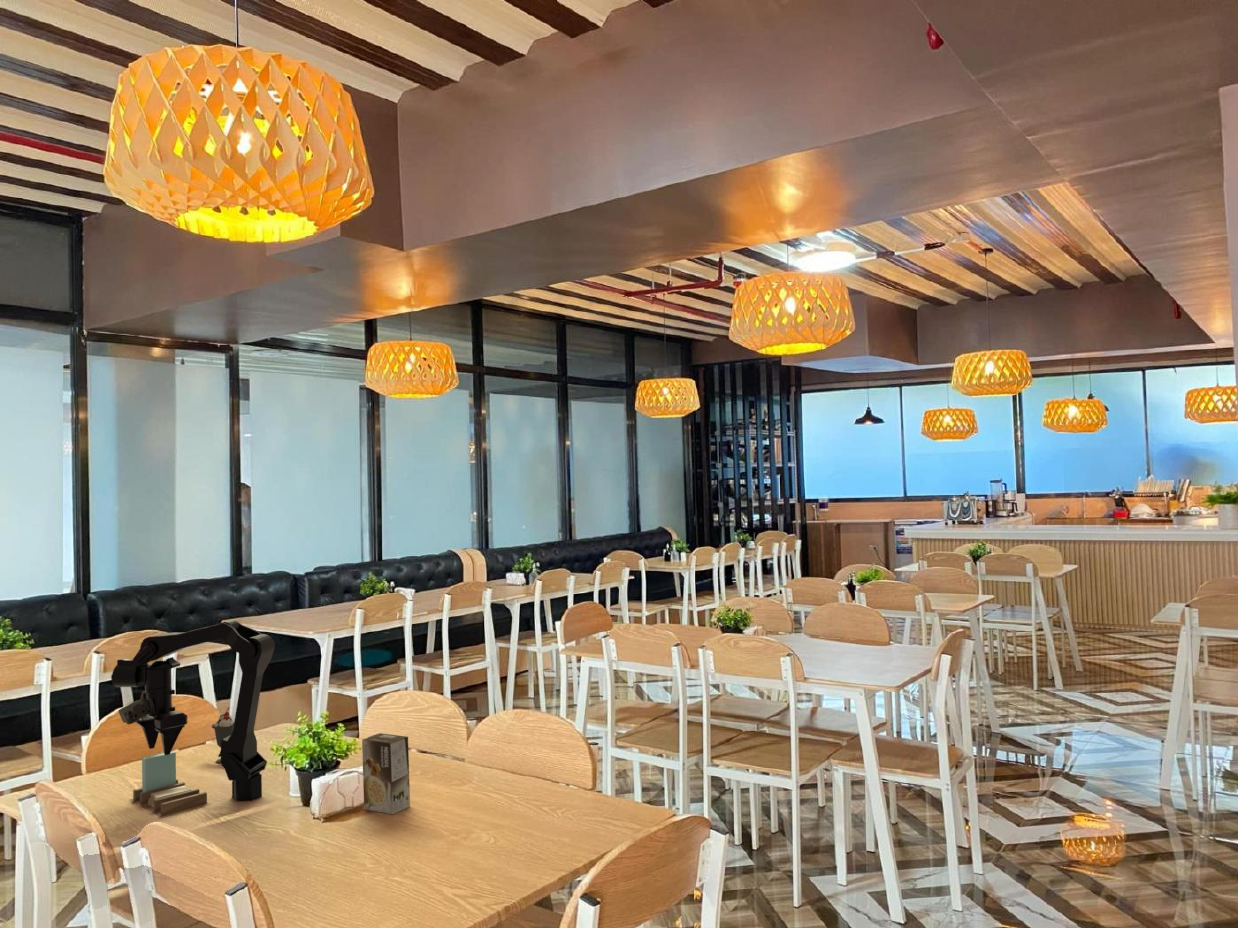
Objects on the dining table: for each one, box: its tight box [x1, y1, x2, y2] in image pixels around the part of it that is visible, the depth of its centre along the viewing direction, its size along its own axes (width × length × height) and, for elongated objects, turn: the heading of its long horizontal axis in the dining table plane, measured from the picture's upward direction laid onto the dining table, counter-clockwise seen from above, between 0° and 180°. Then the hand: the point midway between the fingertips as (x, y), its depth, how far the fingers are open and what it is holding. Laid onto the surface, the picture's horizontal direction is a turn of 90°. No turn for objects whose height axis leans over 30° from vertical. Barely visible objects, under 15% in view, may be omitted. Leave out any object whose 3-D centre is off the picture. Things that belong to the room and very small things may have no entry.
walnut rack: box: [129, 778, 212, 819], centre depth 211 cm, size 20×11×4 cm, turn 49°
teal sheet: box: [141, 750, 177, 793], centre depth 216 cm, size 2×7×10 cm, turn 139°
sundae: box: [211, 706, 234, 764], centre depth 248 cm, size 7×7×15 cm
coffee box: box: [361, 732, 411, 815], centre depth 206 cm, size 9×6×16 cm
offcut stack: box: [148, 784, 192, 807], centre depth 212 cm, size 5×8×2 cm, turn 139°
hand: (159, 751), depth 216 cm, fingers open, 9 cm apart
